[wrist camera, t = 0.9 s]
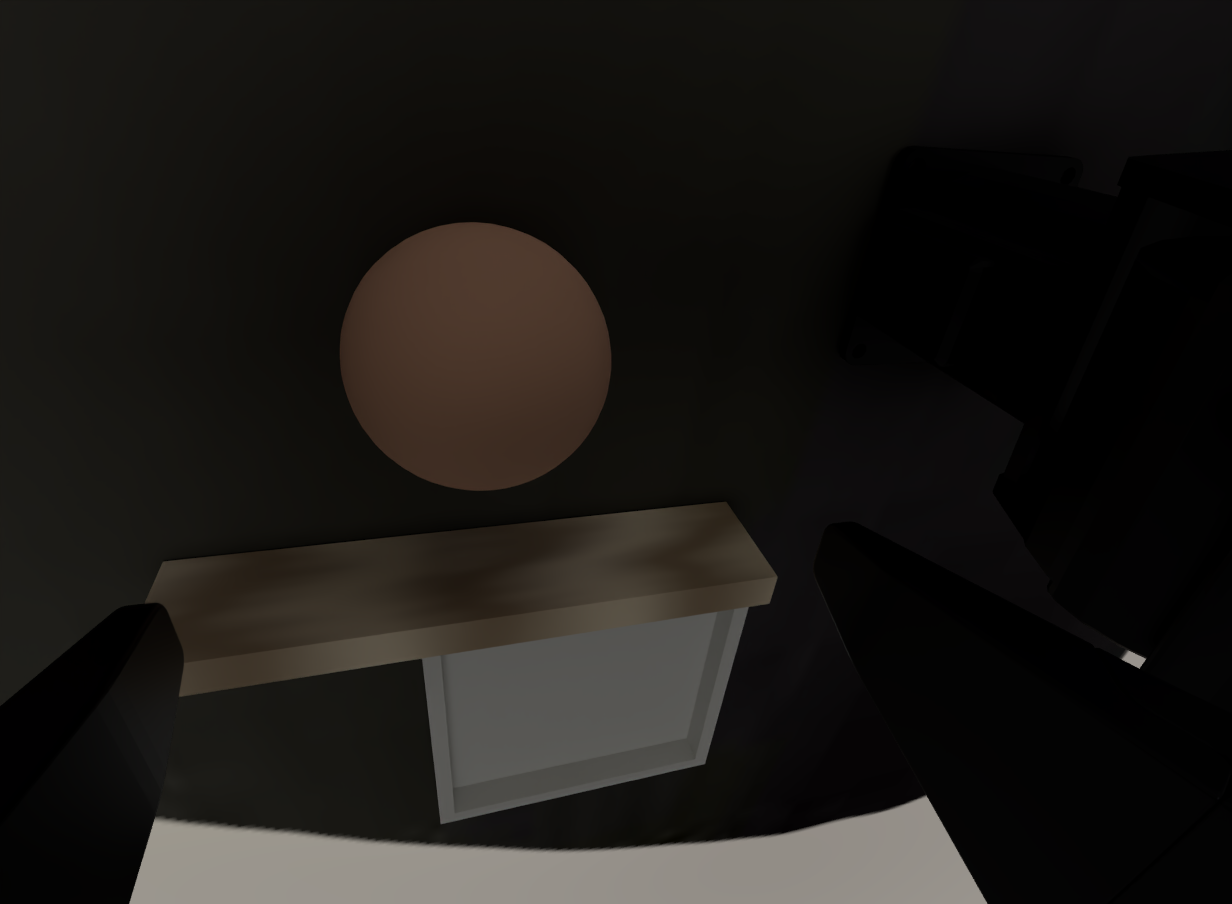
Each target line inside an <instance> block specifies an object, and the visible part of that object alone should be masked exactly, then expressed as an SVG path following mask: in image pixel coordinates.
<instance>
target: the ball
mask: <svg viewBox="0 0 1232 904" xmlns="http://www.w3.org/2000/svg"><path fill="white" fill-rule="evenodd" d="M340 366H341V375H342V379H343V383H344V388H345V391H346V394H347V397H348V400H349V402H350V405H351V407H352V410H353V412H354V414H355V416H356V417H357V419H358V421H359V423H360V424H361V426H362V427H363V429H364V430H365V432H366V433H367V434H368V435H369V437H370V438H371V439H372V441H373V442H374V443H375V444H376V446H377V447H379V448H380V449H381V450H382V451H383V452H384V453H385V454H386V455H387V456H388V457H389V458H391V459H392V460H393V461H395V462H396V463H397V464H399V465H400V466H401V467H403V468H404V469H406V470H408V471H409V472H411V473H413V474H415V475H416V476H418V477H420V478H423V479H425V480H428V481H430V482H432V483H436V484H439V485H443V486H446V487H451V488H457V489H462V490H474V491H485V490H497V489H504V488H509V487H513V486H517V485H520V484H523V483H526V482H529V481H531V480H534V479H536V478H538V477H540V476H542V475H544V474H546V473H547V472H549V471H550V470H552V469H554V468H555V467H556V466H558V465H559V464H560V463H562V462H563V461H564V460H565V459H567V458H568V457H569V456H570V455H571V454H572V453H573V452H574V451H575V450H576V449H577V448H578V447H579V446H580V445H581V444H582V442H583V441H584V440H585V438H586V437H587V436H588V434H589V433H590V431H591V430H592V428H593V426H594V425H595V423H596V421H597V419H598V417H599V414H600V412H601V410H602V408H603V405H604V402H605V399H606V396H607V392H608V387H609V381H610V374H611V348H610V340H609V334H608V329H607V326H606V322H605V318H604V315H603V313H602V311H601V308H600V306H599V304H598V302H597V300H596V298H595V296H594V294H593V292H592V291H591V289H590V287H589V286H588V284H587V282H586V281H585V280H584V279H583V277H582V276H581V275H580V274H579V272H578V271H577V270H576V269H575V268H574V267H573V266H572V265H571V264H570V263H569V262H568V261H567V260H566V259H565V258H564V257H563V256H562V255H560V254H559V253H558V252H557V251H555V250H554V249H553V248H551V247H550V246H548V245H547V244H546V243H544V242H542V241H540V240H538V239H536V238H534V237H532V236H530V235H528V234H526V233H523V232H520V231H517V230H515V229H512V228H508V227H504V226H500V225H495V224H489V223H478V222H467V223H453V224H448V225H442V226H437V227H434V228H431V229H428V230H425V231H422V232H420V233H418V234H416V235H413V236H411V237H409V238H407V239H405V240H404V241H402V242H401V243H399V244H398V245H396V246H395V247H393V248H392V249H390V250H389V251H388V252H387V253H386V254H385V255H383V256H382V257H381V258H380V259H379V260H378V261H377V262H376V263H375V264H374V265H373V266H372V267H371V268H370V270H369V271H368V272H367V273H366V274H365V276H364V277H363V278H362V280H361V282H360V283H359V285H358V287H357V288H356V290H355V292H354V294H353V296H352V299H351V301H350V304H349V306H348V309H347V311H346V314H345V317H344V321H343V326H342V330H341V339H340Z"/></svg>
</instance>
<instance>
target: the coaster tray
mask: <svg viewBox="0 0 1232 904" xmlns="http://www.w3.org/2000/svg"><path fill="white" fill-rule="evenodd" d="M747 611H748V607H744V608H738V609H732V610H725V611H719V612H713V613H706V614H700V615H694V616H687V617H681V618H675V619H668V620H662V621H656V622H649V623H643V624H637V625H630V626H624V627H618V628H611V629H605V630H599V631H592V632H586V633H580V634H573V635H567V636H561V637H554V638H548V639H542V640H535V641H529V642H523V643H516V644H510V645H504V646H497V647H491V648H485V649H478V650H472V651H466V652H460V653H453V654H447V655H441V656H434V657H428V658H422V661H423V670H424V679H425V688H426V697H427V705H428V714H429V723H430V732H431V741H432V750H433V759H434V768H435V776H436V785H437V794H438V803H439V812H440V821H441V824H444V823H448V822H452V821H457V820H461V819H466V818H470V817H474V816H479V815H483V814H487V813H492V812H496V811H501V810H505V809H509V808H514V807H518V806H522V805H527V804H531V803H536V802H540V801H544V800H549V799H553V798H557V797H562V796H566V795H571V794H575V793H579V792H584V791H588V790H593V789H597V788H601V787H606V786H610V785H614V784H619V783H623V782H628V781H632V780H636V779H641V778H645V777H649V776H654V775H658V774H663V773H667V772H671V771H676V770H680V769H684V768H689V767H693V766H698V765H702V764H705V761H706V758H707V754H708V751H709V747H710V743H711V740H712V736H713V733H714V729H715V725H716V722H717V718H718V715H719V711H720V708H721V704H722V700H723V697H724V693H725V690H726V686H727V682H728V679H729V675H730V672H731V668H732V664H733V661H734V657H735V654H736V650H737V647H738V643H739V639H740V636H741V632H742V629H743V625H744V621H745V618H746V614H747Z"/></svg>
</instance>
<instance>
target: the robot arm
mask: <svg viewBox="0 0 1232 904" xmlns="http://www.w3.org/2000/svg"><path fill="white" fill-rule="evenodd" d="M914 160H916V165H915V167H914V169H913V171H912V172H911V173H910V174H909V167H910V165H911V163H912V162H913V161H914ZM1082 171H1083V164H1082V162H1081V161H1080V160H1079V159H1076V158H1071V157H1066V156H1054V155H1040V154H1025V153H1010V152H995V151H981V150H966V149H951V148H937V147H922V146H911V147H907V148H905V149H904V150H902V151H901V152H900V153H899V154H898V156H897V157H896V159H895V161H894V163H893V166H892V169H891V173H890V176H889V179H888V183H887V186H886V190H885V193H884V196H883V200H882V203H881V207H880V210H879V213H878V217H877V220H876V224H875V227H874V230H873V234H872V237H871V240H870V244H869V247H868V251H867V254H866V257H865V261H864V264H863V268H862V271H861V274H860V278H859V281H858V284H857V288H856V291H855V295H854V298H853V301H852V305H851V308H850V312H849V315H848V318H847V322H846V325H845V329H844V332H843V335H842V339H841V342H840V345H839V355H840V357H841V358H842V359H844V360H845V361H846V362H848V363H849V364H851V365H871V364H894V363H916V362H929V363H930V364H932V365H933V366H935V367H937V368H938V369H940V370H941V371H943V372H944V373H946V374H948V375H949V376H951V377H952V378H954V379H955V380H957V381H958V382H960V383H962V384H963V385H965V386H966V387H968V388H969V389H971V390H973V391H974V392H976V393H977V394H979V395H980V396H982V397H984V398H985V399H987V400H988V401H990V402H991V403H993V404H994V405H996V406H998V407H999V408H1001V409H1002V410H1004V411H1005V412H1007V413H1009V414H1010V415H1012V416H1013V417H1015V418H1016V419H1018V420H1020V421H1021V422H1023V423H1024V426H1023V429H1022V431H1021V433H1020V436H1019V438H1018V441H1017V443H1016V446H1015V448H1014V450H1013V453H1012V455H1011V458H1010V460H1009V463H1008V465H1007V467H1006V470H1005V472H1004V473H1002V474H1000V475H999V477H998V479H997V482H996V484H995V487H994V489H993V494H994V495H995V497H996V498H997V500H998V501H999V503H1000V504H1001V506H1002V507H1003V509H1004V510H1005V512H1006V513H1007V515H1008V516H1009V518H1010V519H1011V521H1012V522H1013V524H1014V525H1015V527H1016V528H1017V530H1018V531H1019V533H1020V534H1021V536H1022V537H1023V539H1024V543H1025V546H1026V547H1027V549H1028V550H1029V552H1030V553H1031V554H1032V556H1033V557H1034V558H1035V560H1036V561H1037V563H1038V564H1039V565H1040V567H1041V568H1042V570H1043V571H1044V572H1045V574H1046V575H1047V576H1048V577H1049V578H1050V579H1051V580H1050V581H1049V583H1048V585H1047V590H1048V592H1049V593H1050V595H1051V596H1052V597H1053V598H1054V600H1055V601H1056V602H1057V603H1059V604H1060V605H1061V606H1062V607H1064V608H1065V609H1066V610H1067V611H1068V612H1070V613H1071V614H1072V615H1073V616H1075V617H1076V618H1077V619H1078V620H1080V621H1081V622H1082V623H1083V624H1085V625H1086V626H1088V627H1089V628H1091V629H1093V630H1094V631H1096V632H1097V633H1099V634H1101V635H1102V636H1104V637H1105V638H1107V639H1109V640H1110V641H1112V642H1114V643H1115V644H1117V645H1118V646H1120V647H1123V648H1125V649H1127V650H1129V651H1131V652H1133V653H1135V654H1137V655H1139V656H1142V657H1144V658H1146V660H1145V662H1144V663H1143V664H1142V666H1141V667H1140V669H1139V668H1137V667H1135V666H1133V665H1131V664H1129V663H1127V662H1125V661H1123V660H1121V659H1119V658H1118V657H1116V656H1114V655H1112V654H1110V653H1108V652H1106V651H1104V650H1102V649H1100V648H1094V646H1093V645H1092V644H1090V643H1088V642H1086V641H1084V640H1083V639H1081V638H1079V637H1077V636H1075V635H1073V634H1071V633H1069V632H1067V631H1065V630H1063V629H1061V628H1059V627H1057V626H1055V625H1053V624H1052V623H1050V622H1048V621H1046V620H1044V619H1042V618H1040V617H1038V616H1036V615H1034V614H1032V613H1030V612H1028V611H1026V610H1024V609H1022V608H1021V607H1019V606H1017V605H1015V604H1013V603H1011V602H1009V601H1007V600H1005V599H1003V598H1001V597H999V596H997V595H995V594H993V593H991V592H990V591H988V590H986V589H984V588H982V587H980V586H978V585H976V584H974V583H972V582H970V581H968V580H966V579H964V578H962V577H960V576H959V575H957V574H955V573H953V572H951V571H949V570H947V569H945V568H943V567H941V566H939V565H937V564H935V563H933V562H931V561H929V560H928V559H926V558H924V557H922V556H920V555H918V554H916V553H914V552H912V551H910V550H908V549H906V548H904V547H902V546H900V545H899V544H897V543H895V542H893V541H891V540H889V539H887V538H885V537H883V536H881V535H879V534H877V533H875V532H873V531H871V530H869V529H868V528H866V527H864V526H862V525H860V524H858V523H856V522H841V523H833V524H830V525H828V526H827V528H826V529H825V531H824V533H823V536H822V539H821V542H820V545H819V548H818V551H817V554H816V557H815V560H814V563H813V572H814V577H815V580H816V582H817V584H818V586H819V589H820V591H821V593H822V596H823V598H824V600H825V602H826V605H827V607H828V609H829V612H830V614H831V616H832V618H833V621H834V623H835V625H836V628H837V630H838V632H839V634H840V637H841V639H842V641H843V644H844V646H845V648H846V650H847V652H848V655H849V657H850V659H851V661H852V663H853V665H854V667H855V669H856V671H857V672H858V674H859V676H860V678H861V680H862V682H863V683H864V685H865V687H866V689H867V690H868V692H869V694H870V696H871V698H872V699H873V701H874V703H875V705H876V706H877V708H878V710H879V712H880V714H881V715H882V717H883V719H884V721H885V722H886V724H887V726H888V728H889V730H890V731H891V733H892V735H893V737H894V738H895V740H896V742H897V744H898V746H899V747H900V749H901V751H902V753H903V754H904V756H905V758H906V760H907V762H908V763H909V765H910V767H911V769H912V770H913V772H914V774H915V776H916V778H917V779H918V781H919V783H920V785H921V786H922V788H923V790H924V792H925V794H926V795H927V797H928V799H929V801H930V802H931V804H932V806H933V808H934V810H935V811H936V813H937V815H938V817H939V818H940V820H941V822H942V824H943V826H944V827H945V829H946V831H947V832H948V834H949V836H950V838H951V840H952V842H953V843H954V845H955V847H956V849H957V850H958V852H959V854H960V856H961V857H962V859H963V861H964V863H965V865H966V866H967V868H968V870H969V872H970V873H971V875H972V877H973V879H974V881H975V882H976V884H977V886H978V888H979V890H980V891H981V893H982V894H983V897H984V898H985V900H986V902H987V904H1232V150H1219V151H1205V152H1190V153H1176V154H1162V155H1147V156H1133V157H1129V158H1128V160H1127V162H1126V165H1125V167H1124V170H1123V172H1122V175H1121V177H1120V179H1119V182H1118V184H1117V185H1118V186H1121V187H1122V188H1121V190H1120V193H1119V195H1118V197H1116V196H1112V195H1107V194H1103V193H1099V192H1095V191H1091V190H1087V189H1083V188H1078V187H1077V184H1078V182H1079V180H1080V178H1081V175H1082ZM1063 173H1064V175H1063ZM1062 175H1063V176H1062ZM1061 176H1062V178H1061ZM857 345H859V347H858V349H857V350H856V351H855V352H853V353H852V351H853V349H854V348H855V347H856V346H857ZM183 670H184V652H183V648H182V645H181V643H180V640H179V638H178V635H177V633H176V630H175V628H174V626H173V623H172V621H171V618H170V616H169V613H168V611H167V609H166V608H165V607H164V606H163V605H162V604H160V603H145V604H137V605H128V606H124V607H120V608H118V609H117V610H115V611H114V612H112V613H111V614H110V615H109V616H108V617H107V618H105V619H104V620H103V621H102V622H101V623H99V624H98V625H97V626H96V627H95V628H93V629H92V630H91V631H90V632H89V633H87V634H86V635H85V636H84V637H83V638H81V639H80V640H79V641H78V642H77V643H75V644H74V645H73V646H72V647H71V648H69V649H68V650H67V651H66V652H65V653H63V654H62V655H61V656H60V657H59V658H57V659H56V660H55V661H54V662H53V663H51V664H50V665H49V666H48V667H47V668H45V669H44V670H43V671H42V672H41V673H39V674H38V675H37V676H36V677H35V678H33V679H32V680H31V681H30V682H29V683H27V684H26V685H25V686H24V687H23V688H21V689H20V690H19V691H18V692H17V693H15V694H14V695H13V696H12V697H11V698H9V699H8V700H7V701H6V702H5V703H4V704H2V705H1V706H0V904H129V902H130V899H131V896H132V892H133V889H134V886H135V882H136V879H137V876H138V872H139V869H140V866H141V862H142V859H143V856H144V852H145V849H146V845H147V842H148V839H149V836H150V832H151V829H152V826H153V822H154V819H155V815H156V812H157V808H158V804H159V801H160V797H161V793H162V789H163V784H164V779H165V774H166V768H167V763H168V757H169V751H170V745H171V739H172V734H173V728H174V722H175V716H176V710H177V704H178V699H179V693H180V687H181V681H182V675H183Z"/></svg>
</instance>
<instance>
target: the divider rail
mask: <svg viewBox="0 0 1232 904" xmlns="http://www.w3.org/2000/svg"><path fill="white" fill-rule="evenodd" d="M776 580H777V575H776V574H775V572H774V571H773V569H772V568H771V566H770V565H769V563H768V562H767V560H766V559H765V558H764V556H763V555H762V553H761V552H760V550H759V549H758V547H757V546H756V544H755V543H754V541H753V540H752V539H751V537H750V536H749V534H748V533H747V531H746V530H745V528H744V527H743V525H742V524H741V522H740V521H739V520H738V518H737V517H736V515H735V514H734V512H733V511H732V509H731V508H730V506H729V505H728V504H727V502H717V503H708V504H699V505H689V506H680V507H670V508H661V509H652V510H642V511H633V512H623V513H614V514H605V515H595V516H586V517H576V518H567V519H558V520H548V521H539V522H529V523H520V524H511V525H501V526H492V527H482V528H473V529H464V530H454V531H445V532H435V533H426V534H417V535H407V536H398V537H388V538H379V539H370V540H360V541H351V542H342V543H332V544H323V545H313V546H304V547H295V548H285V549H276V550H266V551H257V552H248V553H238V554H229V555H219V556H210V557H201V558H191V559H182V560H172V561H163V563H162V565H161V567H160V570H159V572H158V574H157V576H156V579H155V581H154V583H153V585H152V588H151V590H150V592H149V595H148V597H147V599H146V601H145V603H160V604H162V605H163V606H164V607H165V608H166V609H167V611H168V613H169V616H170V618H171V621H172V623H173V626H174V628H175V630H176V633H177V635H178V638H179V640H180V643H181V645H182V648H183V652H184V670H183V675H182V681H181V687H180V693H179V697H181V696H187V695H194V694H200V693H206V692H213V691H219V690H225V689H232V688H238V687H244V686H251V685H257V684H263V683H270V682H276V681H282V680H289V679H295V678H301V677H308V676H314V675H320V674H327V673H333V672H339V671H346V670H352V669H358V668H365V667H371V666H377V665H384V664H390V663H396V662H403V661H409V660H415V659H422V658H428V657H434V656H441V655H447V654H453V653H460V652H466V651H472V650H478V649H485V648H491V647H497V646H504V645H510V644H516V643H523V642H529V641H535V640H542V639H548V638H554V637H561V636H567V635H573V634H580V633H586V632H592V631H599V630H605V629H611V628H618V627H624V626H630V625H637V624H643V623H649V622H656V621H662V620H668V619H675V618H681V617H687V616H694V615H700V614H706V613H713V612H719V611H725V610H732V609H738V608H744V607H751V606H757V605H763V604H769V603H770V600H771V597H772V594H773V590H774V587H775V584H776Z"/></svg>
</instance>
